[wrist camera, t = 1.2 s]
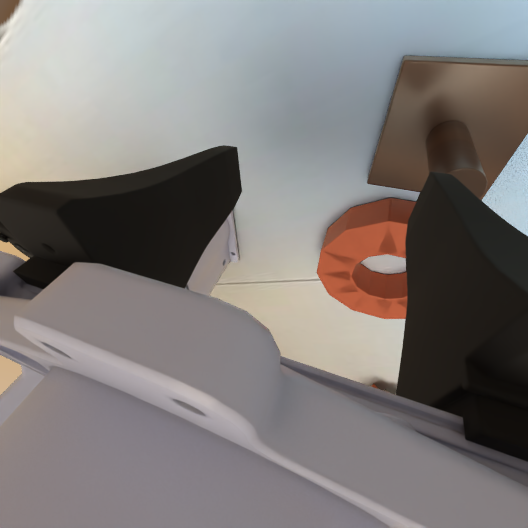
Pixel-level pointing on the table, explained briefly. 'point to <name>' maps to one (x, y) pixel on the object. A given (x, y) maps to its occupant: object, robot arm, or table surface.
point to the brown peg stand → (452, 122)
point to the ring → (359, 248)
